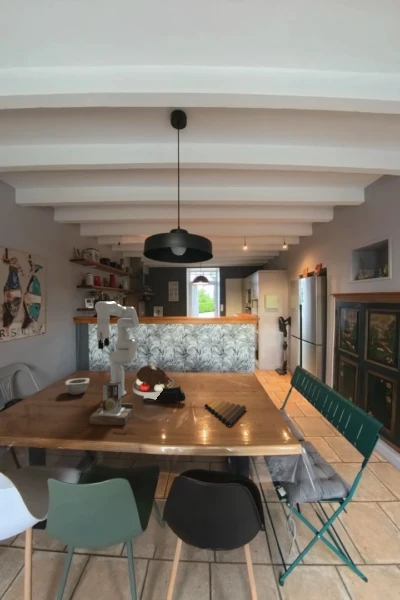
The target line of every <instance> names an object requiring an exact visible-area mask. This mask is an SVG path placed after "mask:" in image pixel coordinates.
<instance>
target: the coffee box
mask: <svg viewBox="0 0 400 600" xmlns="http://www.w3.org/2000/svg"><path fill="white" fill-rule="evenodd" d="M102 403H103V413H119V411H120V410H121V403H122V396H121V382H111V381H106V382H105V383H103V384H102Z"/></svg>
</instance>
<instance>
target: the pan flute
mask: <svg viewBox="0 0 400 600" xmlns="http://www.w3.org/2000/svg"><path fill="white" fill-rule="evenodd" d="M203 407H204V408H205V407H206V408H205V409H207V411H208V410H210V413H211V414H213V413H214V414H213V415H215V416H214V417H217V419H218V418H219V419H218V420H221V422H222V421H223V422H222V423H224V422H225V423H224V424H225V426H227V425H231V424H232V423H233V422H234V421H235V420H236V419H237V418H238V419H239V418H240V417H241V416H242V414H244V412H245V411H246V410H247V407H246V406H245V405H241V404H239V403H238V404H235V403H233V402H232V403H230V401H227V402H226V401H224V400H222V401H220V400H219V399H218V400H216V399H214V398H213V399H211V400H210V401H208V402H207V403H205V404H204V406H203ZM245 409H246V410H245ZM244 410H245V411H244ZM238 419H237V420H238ZM237 420H236V421H237ZM236 421H235V422H236ZM235 422H234V423H235ZM234 423H233V424H234ZM233 424H232V425H233ZM232 425H231V426H232Z"/></svg>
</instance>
